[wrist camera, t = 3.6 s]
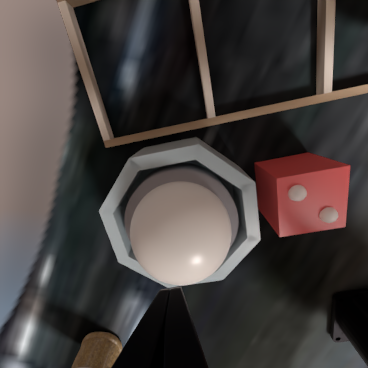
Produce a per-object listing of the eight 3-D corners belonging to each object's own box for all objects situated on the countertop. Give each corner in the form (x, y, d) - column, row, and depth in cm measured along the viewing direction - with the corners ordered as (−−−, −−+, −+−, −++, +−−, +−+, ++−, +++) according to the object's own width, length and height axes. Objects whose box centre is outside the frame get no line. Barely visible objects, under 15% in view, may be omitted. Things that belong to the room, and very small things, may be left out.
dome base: (308, 229, 17) (348, 268, 12) (142, 255, 18) (128, 299, 14) (308, 113, 14) (362, 112, 9) (108, 154, 15) (77, 170, 11)
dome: (235, 240, 16) (262, 311, 10) (148, 253, 16) (127, 328, 10) (223, 151, 13) (249, 178, 8) (122, 171, 14) (76, 210, 8)
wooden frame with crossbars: (442, 76, 13) (459, 73, 12) (110, 146, 15) (105, 147, 14) (482, -121, 10) (507, -140, 9) (62, -1, 12) (53, -9, 11)
